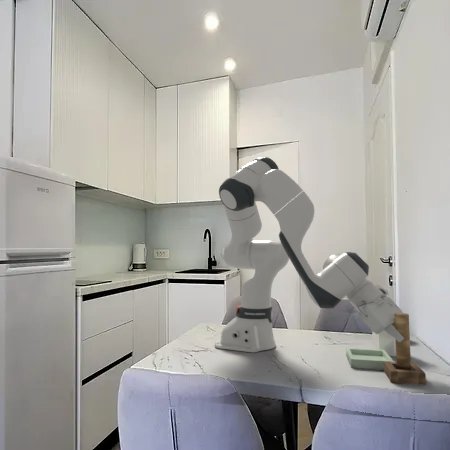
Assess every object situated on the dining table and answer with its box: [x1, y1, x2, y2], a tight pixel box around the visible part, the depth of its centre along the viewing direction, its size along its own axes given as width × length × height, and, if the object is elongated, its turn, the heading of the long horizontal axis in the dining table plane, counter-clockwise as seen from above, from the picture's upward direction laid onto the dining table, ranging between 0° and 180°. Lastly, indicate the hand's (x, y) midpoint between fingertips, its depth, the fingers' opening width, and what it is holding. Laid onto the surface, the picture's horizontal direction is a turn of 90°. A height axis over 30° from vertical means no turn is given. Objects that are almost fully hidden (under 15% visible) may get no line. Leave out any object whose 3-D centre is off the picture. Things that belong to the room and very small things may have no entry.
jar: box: [371, 326, 396, 358], centre depth 118 cm, size 9×8×12 cm
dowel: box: [394, 312, 412, 367], centre depth 96 cm, size 4×4×14 cm
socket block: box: [383, 361, 427, 386], centre depth 95 cm, size 8×8×3 cm
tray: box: [345, 347, 395, 371], centre depth 108 cm, size 12×12×2 cm
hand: (404, 338), depth 96 cm, fingers closed on dowel, 4 cm apart
